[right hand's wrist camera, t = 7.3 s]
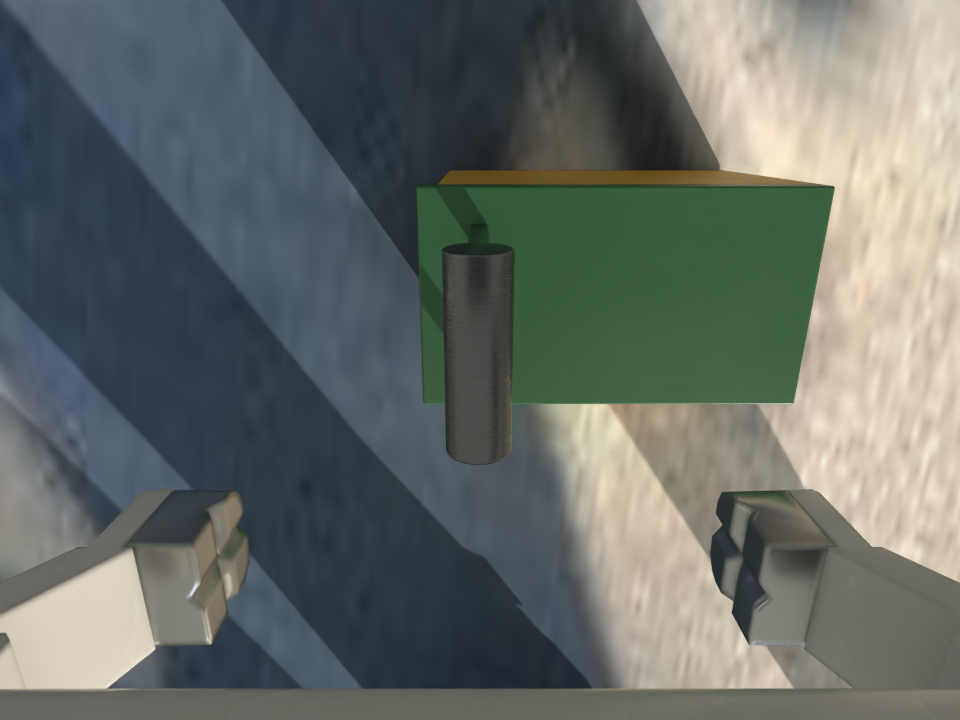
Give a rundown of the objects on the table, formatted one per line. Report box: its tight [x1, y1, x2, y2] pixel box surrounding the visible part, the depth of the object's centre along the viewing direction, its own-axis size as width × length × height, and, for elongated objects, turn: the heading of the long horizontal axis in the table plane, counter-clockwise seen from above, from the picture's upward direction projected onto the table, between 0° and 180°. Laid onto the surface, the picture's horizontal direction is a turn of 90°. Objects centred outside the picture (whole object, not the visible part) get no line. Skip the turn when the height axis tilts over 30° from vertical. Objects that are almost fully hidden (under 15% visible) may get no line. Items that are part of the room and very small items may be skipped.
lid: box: [416, 184, 835, 465], centre depth 22 cm, size 16×9×8 cm, turn 90°
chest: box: [438, 170, 815, 184], centre depth 30 cm, size 15×9×10 cm, turn 90°
